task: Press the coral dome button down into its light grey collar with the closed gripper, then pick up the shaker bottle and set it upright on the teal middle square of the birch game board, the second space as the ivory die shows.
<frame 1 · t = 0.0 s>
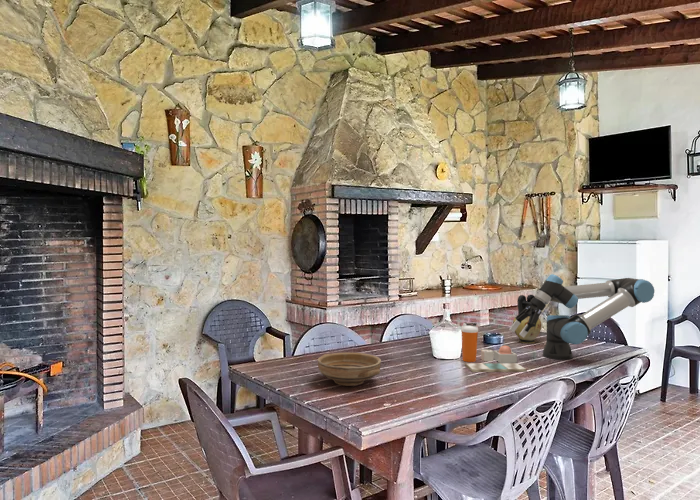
hand: (516, 333, 261), 15 cm above the table, tool tilted 35°, fingers open, 13 cm apart
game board: (495, 368, 249), on the table
dome collar: (505, 360, 265), on the table
amphora: (526, 342, 315), on the table
dome button: (505, 351, 265), point 5 cm above the table, slide at 0.0 cm
die: (487, 360, 267), on the table
shaker bottle: (469, 360, 265), on the table
ceramic bowl: (349, 382, 224), on the table
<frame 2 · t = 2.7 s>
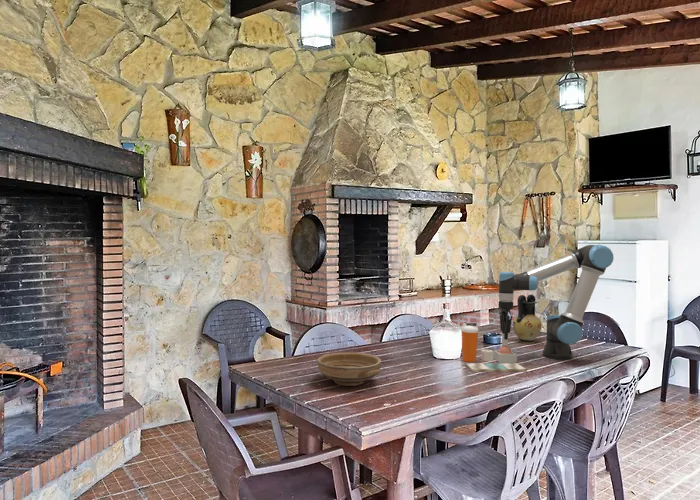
hand: (504, 345, 265), 8 cm above the table, tool pointing down, fingers closed
dome button: (505, 351, 265), point 5 cm above the table, slide at 0.1 cm, touching gripper
everything else where it was.
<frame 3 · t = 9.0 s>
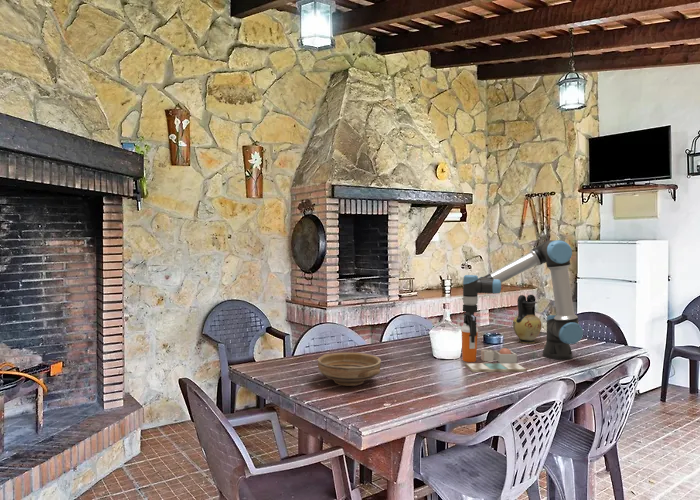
hand: (469, 346, 265), 7 cm above the table, tool pointing down, fingers closed on shaker bottle, 9 cm apart
dome button: (505, 354, 265), point 4 cm above the table, slide at 1.4 cm
shaker bottle: (469, 360, 265), on the table, touching gripper
everything else where it was.
when the fingers open (10 cm above the table, at t = 14.9 s): shaker bottle drops 2 cm, resting on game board.
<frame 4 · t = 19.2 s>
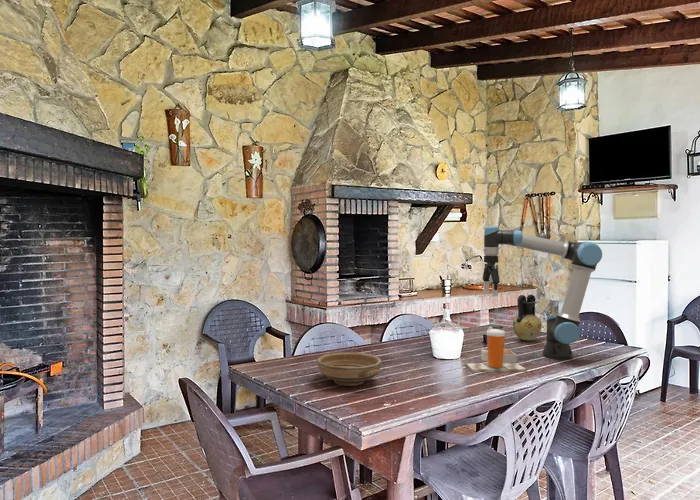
hand: (490, 294, 268), 35 cm above the table, tool pointing down, fingers open, 13 cm apart
shaker bottle: (495, 366, 249), point 1 cm above the table, touching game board
everything else where it was.
at the end: dome button slide at 1.4 cm; shaker bottle inside the target area on the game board (0.2 cm from its centre), point 1.1 cm above the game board's base; shaker bottle tilted 0° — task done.
